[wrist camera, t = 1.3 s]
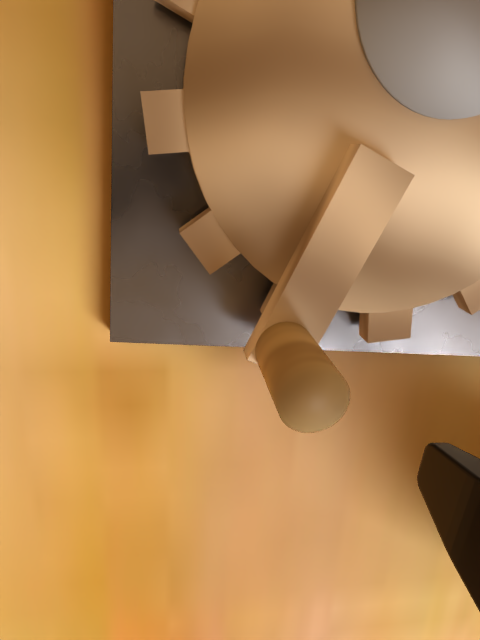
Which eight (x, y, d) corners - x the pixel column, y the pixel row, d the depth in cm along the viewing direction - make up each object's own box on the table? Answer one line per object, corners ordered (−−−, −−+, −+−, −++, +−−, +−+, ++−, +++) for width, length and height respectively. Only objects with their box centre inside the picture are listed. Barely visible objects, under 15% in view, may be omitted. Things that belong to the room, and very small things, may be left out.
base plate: (516, 350, 24) (531, 359, 23) (112, 332, 21) (109, 343, 20) (690, -155, 17) (725, -175, 16) (120, -318, 13) (116, -358, 12)
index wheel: (511, 362, 23) (631, 438, 17) (134, 348, 20) (119, 436, 14) (686, -142, 16) (987, -311, 10) (154, -291, 13) (141, -664, 7)
